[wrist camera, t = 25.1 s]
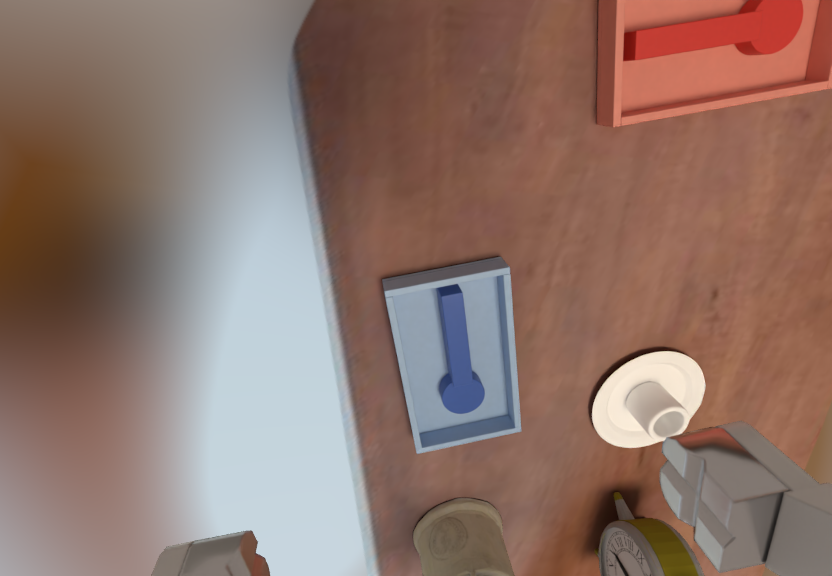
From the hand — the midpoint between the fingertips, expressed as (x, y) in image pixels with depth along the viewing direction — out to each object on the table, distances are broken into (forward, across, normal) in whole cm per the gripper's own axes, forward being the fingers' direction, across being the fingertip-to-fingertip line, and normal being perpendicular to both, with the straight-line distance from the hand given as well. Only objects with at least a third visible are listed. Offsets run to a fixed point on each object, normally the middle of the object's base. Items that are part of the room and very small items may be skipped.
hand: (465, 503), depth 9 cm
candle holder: (+29, -23, +26) cm, 45 cm away
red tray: (+29, -26, -7) cm, 40 cm away
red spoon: (+29, -25, -7) cm, 39 cm away
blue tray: (+29, -4, +16) cm, 33 cm away
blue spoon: (+29, -4, +15) cm, 33 cm away
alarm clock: (+29, -21, +44) cm, 57 cm away
